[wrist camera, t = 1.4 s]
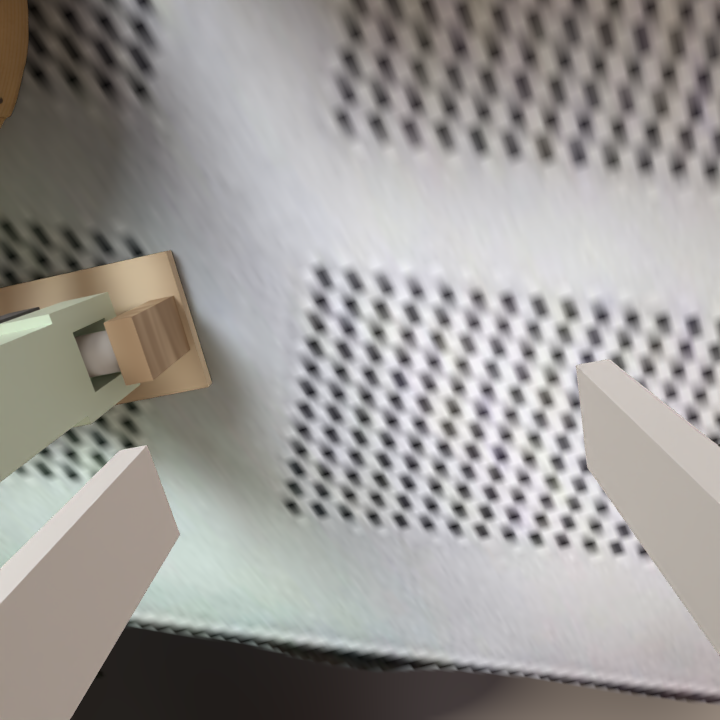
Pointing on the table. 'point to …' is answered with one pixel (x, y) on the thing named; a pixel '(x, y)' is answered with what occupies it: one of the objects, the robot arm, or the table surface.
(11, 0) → the steamer basket
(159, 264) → the pipe stand
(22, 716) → the robot arm
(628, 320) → the table surface
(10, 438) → the pale green upright panel
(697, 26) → the table surface
